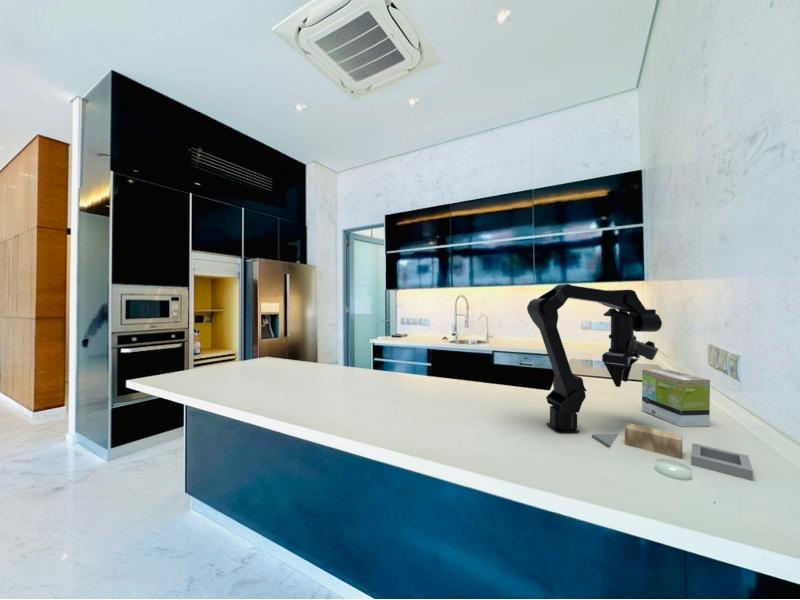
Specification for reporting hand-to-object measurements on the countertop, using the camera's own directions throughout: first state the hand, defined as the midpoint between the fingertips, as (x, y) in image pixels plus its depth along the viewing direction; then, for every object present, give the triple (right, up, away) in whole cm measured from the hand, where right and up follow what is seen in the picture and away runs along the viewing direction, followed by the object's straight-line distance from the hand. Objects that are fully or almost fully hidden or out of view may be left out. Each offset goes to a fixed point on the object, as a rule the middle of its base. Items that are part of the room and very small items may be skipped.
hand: (621, 384), depth 99 cm
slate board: (-6, -13, -14) cm, 20 cm away
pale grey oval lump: (-8, -13, -28) cm, 32 cm away
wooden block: (-7, -10, -12) cm, 17 cm away
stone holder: (+6, -13, -24) cm, 28 cm away
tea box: (+23, -14, +9) cm, 28 cm away
